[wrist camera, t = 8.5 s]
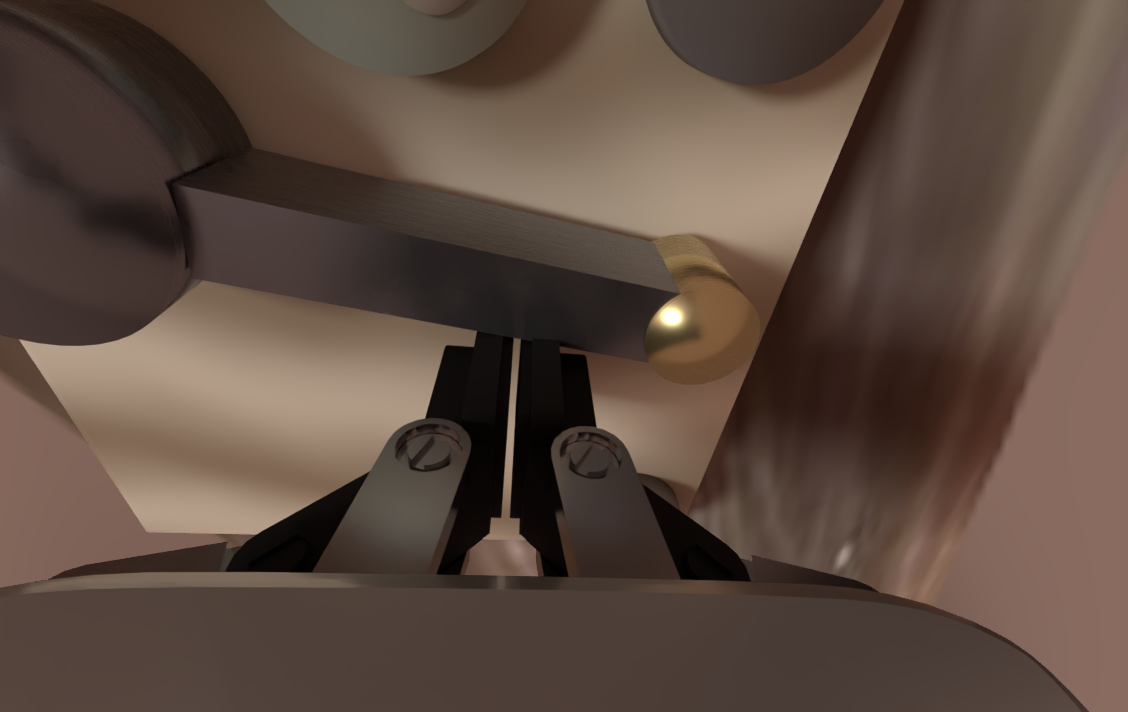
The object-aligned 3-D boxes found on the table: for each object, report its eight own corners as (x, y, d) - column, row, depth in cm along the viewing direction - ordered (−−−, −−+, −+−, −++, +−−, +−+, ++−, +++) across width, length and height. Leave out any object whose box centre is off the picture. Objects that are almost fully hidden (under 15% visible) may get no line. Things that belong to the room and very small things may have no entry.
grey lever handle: (21, 243, 10) (-140, 315, 8) (-103, -53, 7) (-417, -86, 5) (672, 364, 13) (704, 445, 11) (760, 182, 10) (830, 234, 8)
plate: (-325, -450, 7) (-926, -775, 4) (919, -200, 9) (1098, -299, 6) (181, 485, 18) (119, 568, 15) (663, 500, 20) (683, 576, 17)
